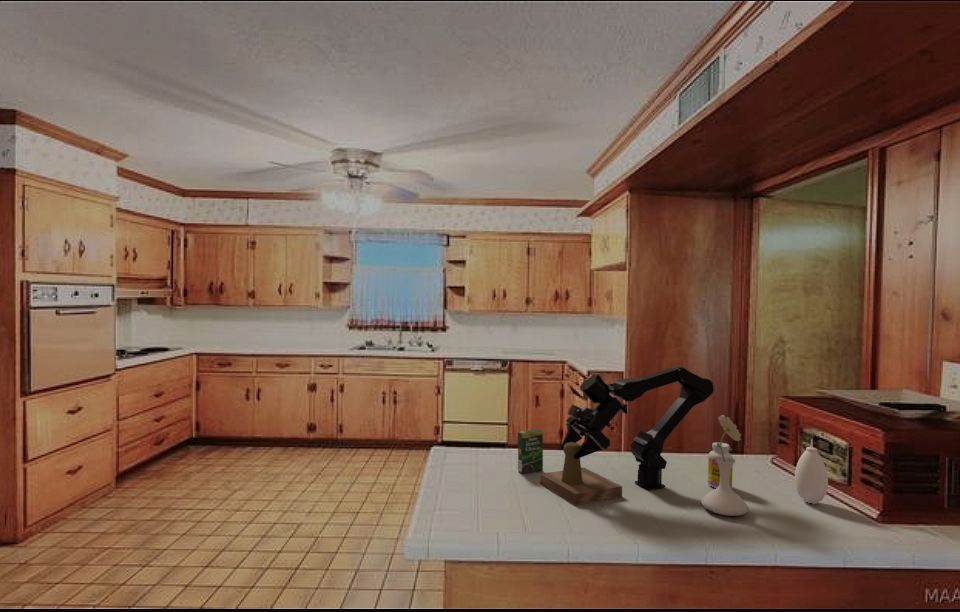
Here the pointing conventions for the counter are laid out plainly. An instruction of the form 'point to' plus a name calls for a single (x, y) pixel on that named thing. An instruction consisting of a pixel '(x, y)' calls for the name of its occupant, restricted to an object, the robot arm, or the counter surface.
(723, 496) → the flower in vase
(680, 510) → the counter surface
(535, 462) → the coffee box
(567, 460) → the cork
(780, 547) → the counter surface
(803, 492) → the sauce bottle
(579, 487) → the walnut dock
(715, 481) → the supplement bottle
